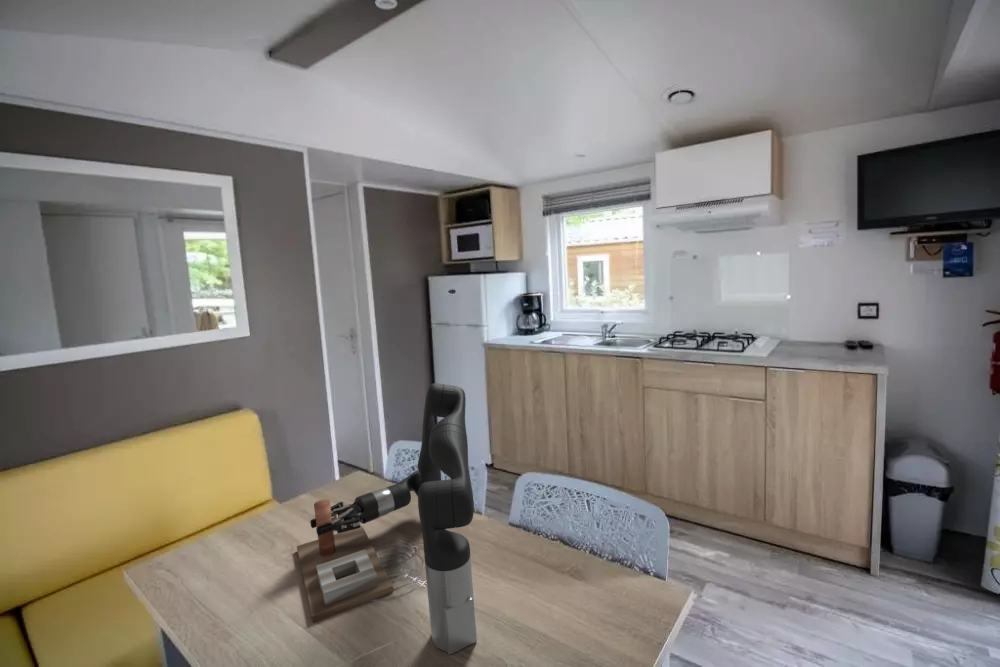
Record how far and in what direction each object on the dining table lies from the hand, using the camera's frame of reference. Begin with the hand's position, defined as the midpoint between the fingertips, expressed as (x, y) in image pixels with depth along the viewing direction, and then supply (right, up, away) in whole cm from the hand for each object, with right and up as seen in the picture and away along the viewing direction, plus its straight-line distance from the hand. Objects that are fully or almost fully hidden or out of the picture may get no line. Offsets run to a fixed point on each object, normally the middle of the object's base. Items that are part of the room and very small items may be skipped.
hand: (314, 527), depth 124 cm
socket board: (+8, -10, -3) cm, 13 cm away
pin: (+3, -8, +3) cm, 8 cm away
